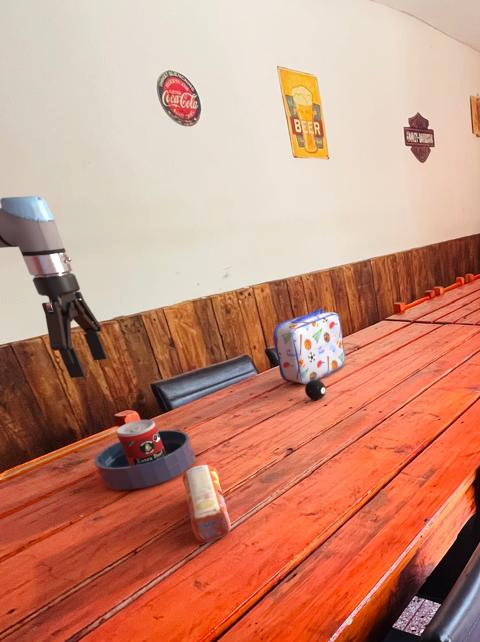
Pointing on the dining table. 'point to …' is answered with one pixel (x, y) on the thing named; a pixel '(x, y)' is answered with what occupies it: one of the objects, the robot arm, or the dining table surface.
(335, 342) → the lunch box
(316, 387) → the billiard ball
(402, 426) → the dining table surface
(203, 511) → the snack package
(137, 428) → the canned food
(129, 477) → the bowl
